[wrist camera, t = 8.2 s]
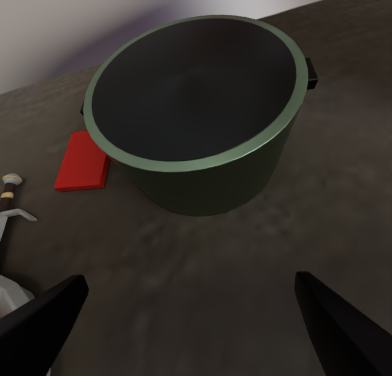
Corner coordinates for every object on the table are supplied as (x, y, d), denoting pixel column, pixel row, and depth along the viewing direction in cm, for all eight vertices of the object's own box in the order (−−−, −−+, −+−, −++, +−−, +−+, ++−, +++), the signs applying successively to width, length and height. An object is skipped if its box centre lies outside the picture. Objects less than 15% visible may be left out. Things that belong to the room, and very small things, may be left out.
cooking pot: (303, 211, 17) (366, 155, 9) (115, 220, 19) (40, 183, 12) (271, 87, 24) (292, -4, 16) (135, 106, 26) (97, 34, 18)
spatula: (95, 79, 30) (88, 68, 28) (128, 74, 29) (122, 62, 28) (59, 191, 22) (46, 184, 20) (104, 188, 21) (93, 180, 19)
